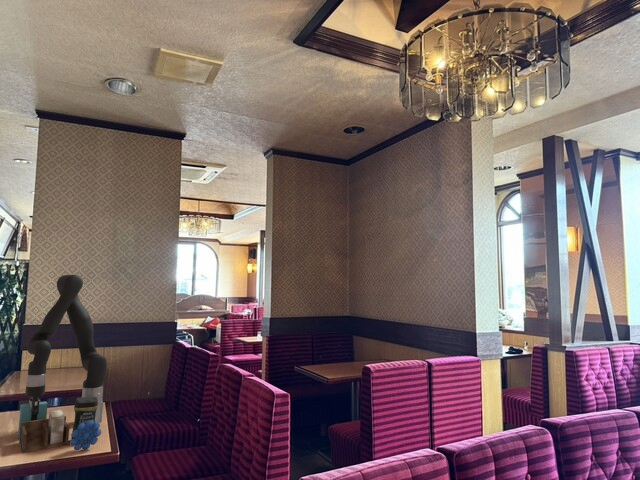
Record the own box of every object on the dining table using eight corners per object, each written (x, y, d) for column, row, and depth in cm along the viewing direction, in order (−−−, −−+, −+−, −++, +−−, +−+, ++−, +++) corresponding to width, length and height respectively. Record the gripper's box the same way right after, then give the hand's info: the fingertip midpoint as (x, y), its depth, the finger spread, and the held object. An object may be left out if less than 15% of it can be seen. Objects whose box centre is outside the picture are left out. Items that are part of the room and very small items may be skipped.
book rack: (64, 435, 202) (66, 408, 204) (69, 444, 191) (71, 416, 192) (19, 442, 192) (21, 414, 193) (21, 453, 181) (24, 422, 182)
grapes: (99, 444, 193) (101, 415, 194) (100, 449, 187) (102, 420, 188) (68, 448, 187) (71, 419, 188) (69, 454, 181) (71, 423, 182)
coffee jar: (71, 445, 191) (74, 400, 193) (70, 439, 198) (74, 396, 200) (96, 441, 196) (99, 398, 198) (95, 436, 203) (98, 394, 205)
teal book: (17, 436, 199) (20, 404, 201) (43, 432, 205) (46, 401, 207) (18, 439, 196) (21, 406, 197) (45, 435, 202) (47, 403, 203)
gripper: (47, 386, 199) (44, 424, 198) (43, 380, 211) (40, 416, 209) (27, 388, 195) (24, 427, 193) (24, 381, 206) (21, 419, 205)
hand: (32, 421), depth 201 cm, fingers open, 7 cm apart
